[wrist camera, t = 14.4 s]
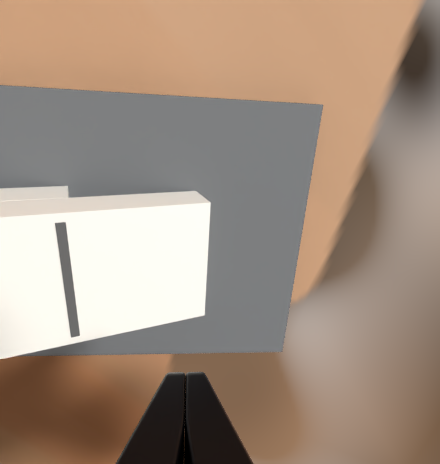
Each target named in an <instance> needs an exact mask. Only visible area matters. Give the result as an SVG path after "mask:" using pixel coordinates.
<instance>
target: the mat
mask: <svg viewBox="0 0 440 464" xmlns="http://www.w3.org/2000/svg"><path fill="white" fill-rule="evenodd" d="M322 109H323V105H319V104H302V103H286V102H269V101H253V100H236V99H220V98H203V97H187V96H170V95H153V94H137V93H120V92H104V91H87V90H71V89H54V88H38V87H21V86H4V85H0V188H25V187H51V186H68V192H69V198H73V197H91V196H110V195H128V194H147V193H165V192H184V191H197V192H198V193H199V194H200V195H202V196H203V197H204V198H206V199H207V200H208V201H209V202H211V206H210V224H209V243H208V261H207V280H206V298H205V315H204V316H199V317H194V318H190V319H185V320H181V321H176V322H171V323H167V324H162V325H157V326H153V327H148V328H143V329H139V330H134V331H129V332H125V333H120V334H116V335H111V336H106V337H102V338H97V339H92V340H88V341H83V342H78V343H74V344H69V345H64V346H60V347H55V348H50V349H46V350H41V351H37V352H32V353H27V354H23V355H18V356H63V355H123V354H184V353H244V352H282V350H283V344H284V338H285V332H286V326H287V319H288V314H289V308H290V302H291V296H292V290H293V284H294V278H295V272H296V266H297V259H298V253H299V247H300V241H301V235H302V229H303V223H304V217H305V211H306V205H307V199H308V193H309V187H310V181H311V175H312V169H313V163H314V157H315V151H316V145H317V139H318V133H319V127H320V121H321V115H322Z"/></svg>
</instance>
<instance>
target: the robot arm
mask: <svg viewBox="0 0 440 464" xmlns="http://www.w3.org/2000/svg"><path fill="white" fill-rule="evenodd" d="M184 428H185V437H184ZM116 464H253V462H252V460H251V458H250V456H249V454H248V453H247V451H246V449H245V447H244V445H243V443H242V441H241V440H240V438H239V436H238V434H237V432H236V430H235V428H234V426H233V425H232V423H231V421H230V419H229V417H228V415H227V414H226V412H225V410H224V408H223V406H222V404H221V402H220V401H219V399H218V397H217V395H216V393H215V391H214V389H213V388H212V386H211V384H210V382H209V380H208V378H207V376H206V375H205V373H203V372H188V373H187V374H186V384H185V374H184V373H182V372H177V373H176V372H175V373H167V374H166V376H165V377H164V379H163V381H162V382H161V384H160V386H159V388H158V389H157V391H156V393H155V395H154V397H153V398H152V400H151V402H150V404H149V405H148V407H147V409H146V411H145V412H144V414H143V416H142V418H141V420H140V421H139V423H138V425H137V427H136V428H135V430H134V432H133V434H132V436H131V437H130V439H129V441H128V443H127V444H126V446H125V448H124V450H123V451H122V453H121V455H120V457H119V459H118V460H117V462H116Z"/></svg>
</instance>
